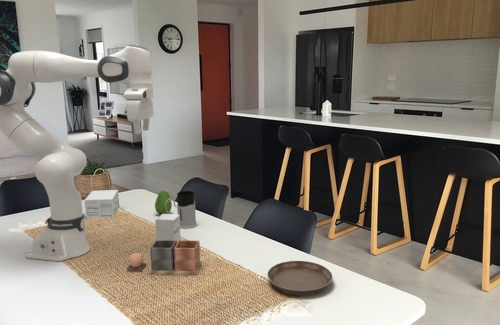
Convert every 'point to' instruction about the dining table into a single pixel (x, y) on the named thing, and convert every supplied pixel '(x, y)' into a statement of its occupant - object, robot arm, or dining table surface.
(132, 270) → the ball stand
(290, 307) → the dining table surface
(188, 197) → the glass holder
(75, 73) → the robot arm
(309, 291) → the plant saucer
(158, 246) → the stacked cubby shelf
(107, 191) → the supplement box
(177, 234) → the supplement box
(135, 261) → the ball
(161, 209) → the avocado
